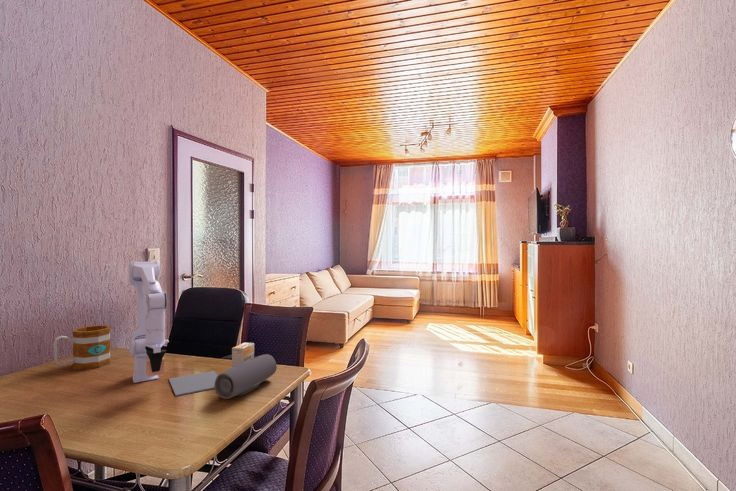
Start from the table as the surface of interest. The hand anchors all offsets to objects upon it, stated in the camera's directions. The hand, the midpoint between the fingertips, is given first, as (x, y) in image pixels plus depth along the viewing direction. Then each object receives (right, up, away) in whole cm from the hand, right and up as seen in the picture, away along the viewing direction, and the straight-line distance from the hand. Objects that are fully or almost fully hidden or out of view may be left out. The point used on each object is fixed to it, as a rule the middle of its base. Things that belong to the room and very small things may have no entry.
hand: (155, 369), depth 127 cm
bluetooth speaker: (+30, -9, +4) cm, 31 cm away
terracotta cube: (0, -1, 0) cm, 1 cm away
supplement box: (+25, -9, +13) cm, 30 cm away
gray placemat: (+10, -8, +10) cm, 16 cm away
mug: (-45, -8, +27) cm, 53 cm away
